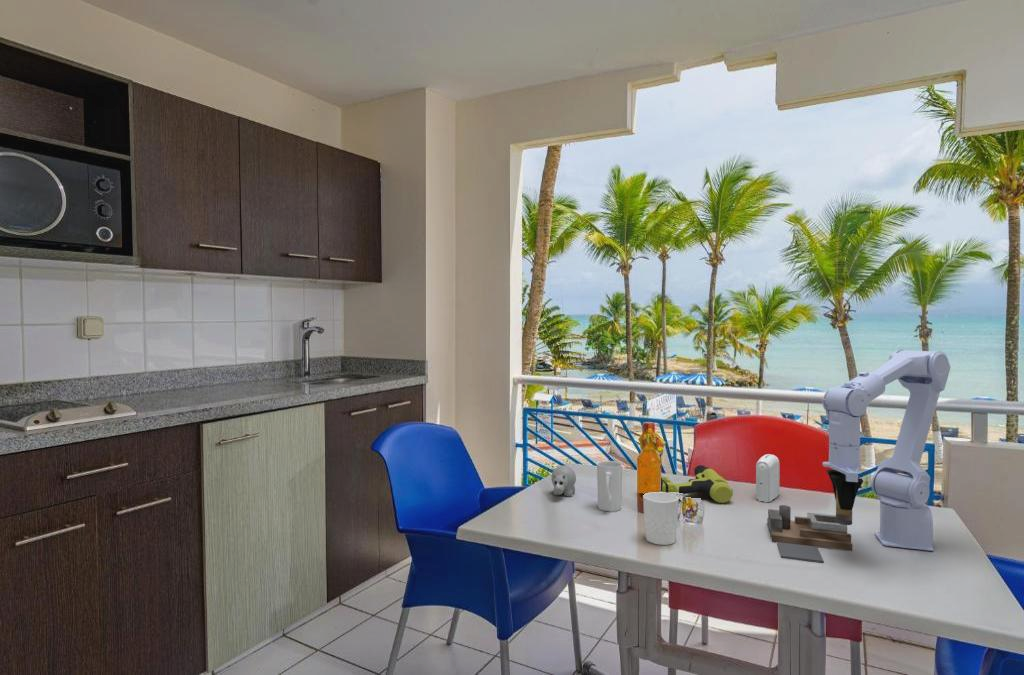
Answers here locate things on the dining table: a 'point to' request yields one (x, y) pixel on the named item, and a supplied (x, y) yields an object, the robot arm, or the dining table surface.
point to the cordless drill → (701, 485)
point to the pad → (799, 552)
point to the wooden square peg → (843, 514)
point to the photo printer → (767, 478)
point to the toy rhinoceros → (563, 481)
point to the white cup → (660, 517)
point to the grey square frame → (824, 523)
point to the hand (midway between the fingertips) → (844, 506)
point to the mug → (609, 485)
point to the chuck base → (803, 531)
